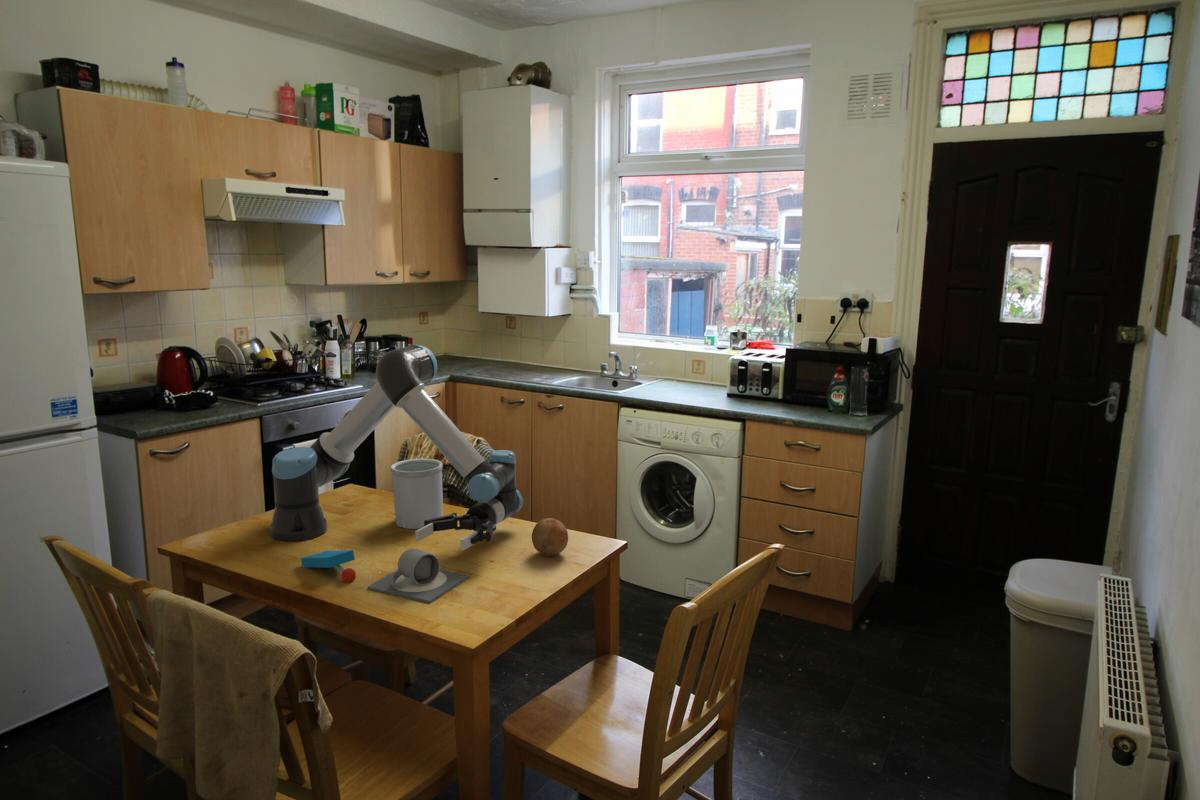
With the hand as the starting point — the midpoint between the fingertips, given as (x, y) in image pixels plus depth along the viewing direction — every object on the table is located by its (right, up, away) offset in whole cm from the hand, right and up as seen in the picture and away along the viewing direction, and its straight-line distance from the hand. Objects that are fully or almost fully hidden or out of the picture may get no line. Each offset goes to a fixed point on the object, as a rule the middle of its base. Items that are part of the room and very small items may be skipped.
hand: (438, 540), depth 196 cm
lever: (-27, -8, 0) cm, 28 cm away
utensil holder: (-14, -1, +37) cm, 40 cm away
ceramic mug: (-4, -9, -7) cm, 12 cm away
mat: (-3, -9, -6) cm, 12 cm away
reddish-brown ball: (+27, -6, +13) cm, 31 cm away
